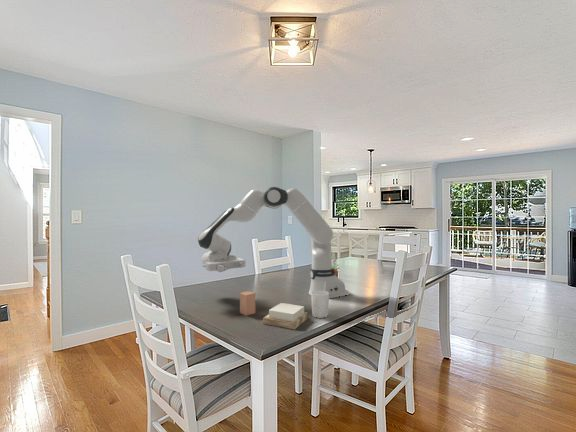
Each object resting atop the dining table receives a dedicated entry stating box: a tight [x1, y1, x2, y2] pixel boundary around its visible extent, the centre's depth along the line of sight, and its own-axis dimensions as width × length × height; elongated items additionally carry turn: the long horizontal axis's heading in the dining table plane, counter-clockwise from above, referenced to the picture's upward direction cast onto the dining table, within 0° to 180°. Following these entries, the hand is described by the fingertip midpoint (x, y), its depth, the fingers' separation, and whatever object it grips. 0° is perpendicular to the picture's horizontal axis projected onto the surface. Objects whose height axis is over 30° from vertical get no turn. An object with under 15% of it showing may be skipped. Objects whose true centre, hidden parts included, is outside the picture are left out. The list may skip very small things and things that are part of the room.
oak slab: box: [262, 311, 309, 331], centre depth 125 cm, size 14×14×3 cm
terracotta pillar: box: [239, 290, 256, 316], centre depth 135 cm, size 5×5×9 cm
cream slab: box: [268, 302, 305, 322], centre depth 125 cm, size 11×11×3 cm
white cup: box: [310, 291, 330, 319], centre depth 131 cm, size 8×8×10 cm
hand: (233, 266), depth 144 cm, fingers open, 8 cm apart
